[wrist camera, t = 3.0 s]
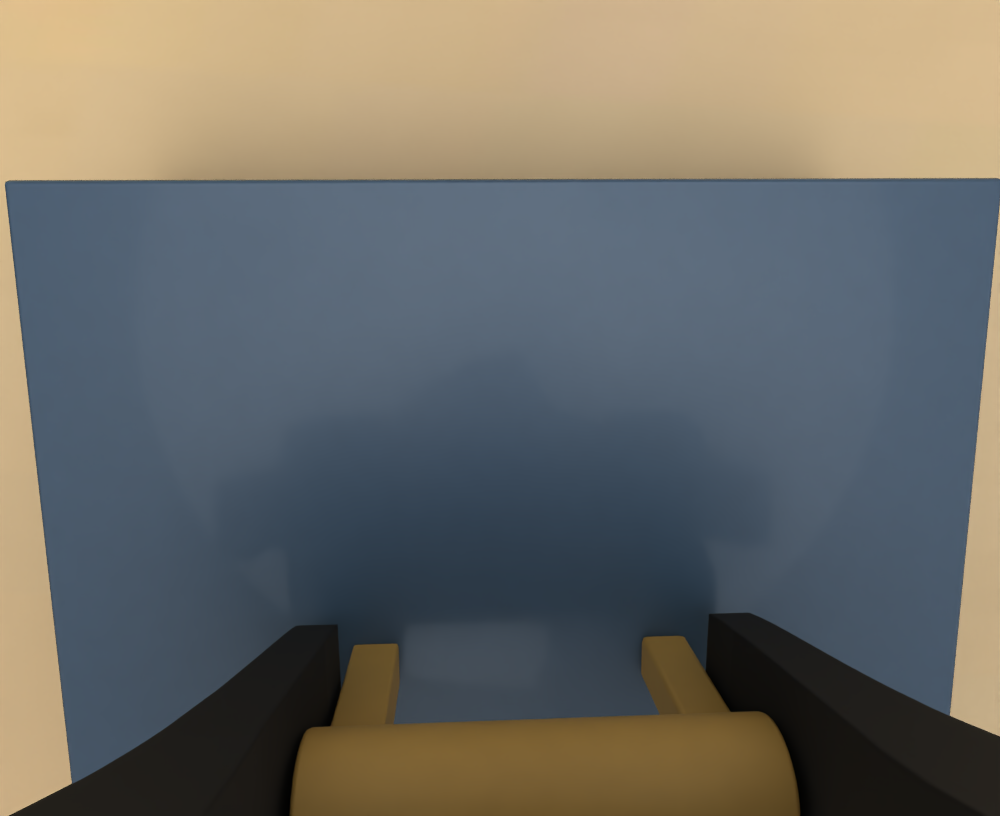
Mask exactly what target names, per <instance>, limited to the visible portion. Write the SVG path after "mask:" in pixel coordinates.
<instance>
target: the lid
mask: <svg viewBox="0 0 1000 816" xmlns="http://www.w3.org/2000/svg"><path fill="white" fill-rule="evenodd" d="M5 189H6V198H7V207H8V216H9V225H10V234H11V243H12V252H13V261H14V269H15V278H16V287H17V296H18V305H19V314H20V323H21V332H22V341H23V350H24V359H25V368H26V377H27V385H28V394H29V403H30V412H31V421H32V430H33V439H34V448H35V457H36V466H37V475H38V484H39V493H40V502H41V510H42V519H43V528H44V537H45V546H46V555H47V564H48V573H49V582H50V591H51V600H52V609H53V618H54V626H55V635H56V644H57V653H58V662H59V671H60V680H61V689H62V698H63V707H64V716H65V725H66V734H67V743H68V751H69V760H70V769H71V778H72V784H73V783H75V782H77V781H79V780H81V779H83V778H85V777H86V776H88V775H90V774H92V773H93V772H95V771H97V770H99V769H101V768H102V767H104V766H106V765H107V764H109V763H111V762H112V761H114V760H116V759H117V758H119V757H121V756H122V755H124V754H126V753H127V752H129V751H131V750H132V749H134V748H136V747H137V746H139V745H140V744H142V743H143V742H145V741H146V740H148V739H150V738H151V737H153V736H154V735H156V734H157V733H159V732H160V731H162V730H163V729H165V728H166V727H167V726H169V725H170V724H171V723H173V722H174V721H176V720H177V719H178V718H180V717H181V716H182V715H184V714H185V713H186V712H188V711H189V710H190V709H192V708H193V707H195V706H196V705H197V704H199V703H200V702H201V701H203V700H204V699H205V698H207V697H208V696H210V695H211V694H212V693H214V692H215V691H216V690H218V689H219V688H220V687H221V686H223V685H224V684H225V683H226V682H227V681H229V680H230V679H231V678H232V677H234V676H235V675H236V674H237V673H238V672H240V671H241V670H242V669H243V668H245V667H246V666H247V665H248V664H249V663H251V662H252V661H253V660H254V659H255V658H257V657H258V656H259V655H260V654H261V653H263V652H264V651H265V650H266V649H267V648H268V647H270V646H271V645H272V644H273V643H274V642H276V641H277V640H278V639H279V638H280V637H282V636H283V635H284V634H285V633H287V632H288V631H289V630H290V629H292V628H293V627H295V626H299V625H334V624H338V640H339V658H340V676H341V691H340V695H339V698H338V702H337V705H336V709H335V712H334V716H333V719H332V722H331V726H329V727H312V728H310V729H308V730H306V732H305V733H304V735H303V738H302V740H301V743H300V746H299V749H298V753H297V757H296V761H295V767H294V772H293V779H292V787H291V797H290V810H289V816H800V802H799V793H798V787H797V781H796V776H795V772H794V768H793V764H792V761H791V758H790V754H789V751H788V749H787V746H786V743H785V741H784V739H783V736H782V734H781V732H780V730H779V728H778V727H777V725H776V724H775V722H774V721H773V720H772V719H771V718H770V717H769V716H768V715H767V714H765V713H762V712H759V711H747V712H730V710H729V708H728V707H727V705H726V703H725V702H724V700H723V699H722V697H721V695H720V694H719V692H718V691H717V689H716V687H715V686H714V684H713V683H712V681H711V679H710V678H709V676H708V674H707V673H706V655H707V637H708V619H709V614H715V613H751V614H754V615H756V616H759V617H761V618H763V619H765V620H767V621H769V622H771V623H773V624H775V625H777V626H778V627H780V628H782V629H784V630H786V631H788V632H789V633H791V634H793V635H795V636H797V637H798V638H800V639H802V640H804V641H805V642H807V643H809V644H811V645H813V646H814V647H816V648H818V649H820V650H821V651H823V652H825V653H827V654H829V655H830V656H832V657H834V658H836V659H838V660H839V661H841V662H843V663H845V664H847V665H848V666H850V667H852V668H854V669H856V670H858V671H860V672H861V673H863V674H865V675H867V676H869V677H871V678H873V679H875V680H877V681H878V682H880V683H882V684H884V685H886V686H888V687H890V688H892V689H894V690H896V691H898V692H900V693H902V694H904V695H906V696H908V697H911V698H913V699H915V700H917V701H919V702H921V703H923V704H925V705H927V706H929V707H931V708H933V709H935V710H938V711H940V712H942V713H944V714H947V715H949V716H950V708H951V697H952V687H953V677H954V667H955V656H956V646H957V636H958V626H959V615H960V605H961V595H962V585H963V574H964V564H965V554H966V544H967V533H968V523H969V513H970V503H971V492H972V482H973V472H974V461H975V451H976V441H977V431H978V420H979V410H980V400H981V390H982V379H983V369H984V359H985V349H986V338H987V328H988V318H989V308H990V297H991V287H992V277H993V267H994V256H995V246H996V236H997V225H998V215H999V205H1000V179H998V178H873V179H443V180H13V181H7V182H6V183H5Z"/></svg>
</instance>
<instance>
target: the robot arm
mask: <svg viewBox="0 0 1000 816" xmlns="http://www.w3.org/2000/svg"><path fill="white" fill-rule="evenodd" d="M706 673H707V674H708V676H709V678H710V679H711V681H712V683H713V684H714V686H715V687H716V689H717V691H718V692H719V694H720V695H721V697H722V699H723V700H724V702H725V703H726V705H727V707H728V708H729V710H730V712H747V711H759V712H762V713H765V714H767V715H768V716H769V717H770V718H771V719H772V720H773V721H774V722H775V724H776V725H777V727H778V728H779V730H780V732H781V734H782V736H783V739H784V741H785V743H786V746H787V749H788V751H789V754H790V758H791V761H792V764H793V768H794V772H795V776H796V781H797V787H798V793H799V802H800V816H1000V737H999V736H997V735H995V734H992V733H990V732H987V731H985V730H982V729H980V728H977V727H975V726H973V725H970V724H968V723H965V722H963V721H960V720H958V719H956V718H953V717H951V716H949V715H947V714H944V713H942V712H940V711H938V710H935V709H933V708H931V707H929V706H927V705H925V704H923V703H921V702H919V701H917V700H915V699H913V698H911V697H908V696H906V695H904V694H902V693H900V692H898V691H896V690H894V689H892V688H890V687H888V686H886V685H884V684H882V683H880V682H878V681H877V680H875V679H873V678H871V677H869V676H867V675H865V674H863V673H861V672H860V671H858V670H856V669H854V668H852V667H850V666H848V665H847V664H845V663H843V662H841V661H839V660H838V659H836V658H834V657H832V656H830V655H829V654H827V653H825V652H823V651H821V650H820V649H818V648H816V647H814V646H813V645H811V644H809V643H807V642H805V641H804V640H802V639H800V638H798V637H797V636H795V635H793V634H791V633H789V632H788V631H786V630H784V629H782V628H780V627H778V626H777V625H775V624H773V623H771V622H769V621H767V620H765V619H763V618H761V617H759V616H756V615H754V614H751V613H715V614H709V619H708V637H707V655H706ZM340 691H341V676H340V658H339V640H338V624H334V625H299V626H295V627H293V628H292V629H290V630H289V631H288V632H287V633H285V634H284V635H283V636H282V637H280V638H279V639H278V640H277V641H276V642H274V643H273V644H272V645H271V646H270V647H268V648H267V649H266V650H265V651H264V652H263V653H261V654H260V655H259V656H258V657H257V658H255V659H254V660H253V661H252V662H251V663H249V664H248V665H247V666H246V667H245V668H243V669H242V670H241V671H240V672H238V673H237V674H236V675H235V676H234V677H232V678H231V679H230V680H229V681H227V682H226V683H225V684H224V685H223V686H221V687H220V688H219V689H218V690H216V691H215V692H214V693H212V694H211V695H210V696H208V697H207V698H205V699H204V700H203V701H201V702H200V703H199V704H197V705H196V706H195V707H193V708H192V709H190V710H189V711H188V712H186V713H185V714H184V715H182V716H181V717H180V718H178V719H177V720H176V721H174V722H173V723H171V724H170V725H169V726H167V727H166V728H165V729H163V730H162V731H160V732H159V733H157V734H156V735H154V736H153V737H151V738H150V739H148V740H146V741H145V742H143V743H142V744H140V745H139V746H137V747H136V748H134V749H132V750H131V751H129V752H127V753H126V754H124V755H122V756H121V757H119V758H117V759H116V760H114V761H112V762H111V763H109V764H107V765H106V766H104V767H102V768H101V769H99V770H97V771H95V772H93V773H92V774H90V775H88V776H86V777H85V778H83V779H81V780H79V781H77V782H75V783H73V784H71V785H69V786H67V787H65V788H63V789H61V790H59V791H57V792H55V793H53V794H51V795H49V796H47V797H45V798H43V799H41V800H39V801H37V802H35V803H33V804H31V805H29V806H27V807H25V808H23V809H21V810H19V811H18V812H16V813H14V814H11V815H9V816H289V810H290V797H291V787H292V779H293V772H294V767H295V761H296V757H297V753H298V749H299V746H300V743H301V740H302V738H303V735H304V733H305V732H306V730H308V729H310V728H312V727H329V726H331V722H332V719H333V716H334V712H335V709H336V705H337V702H338V698H339V695H340Z"/></svg>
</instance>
